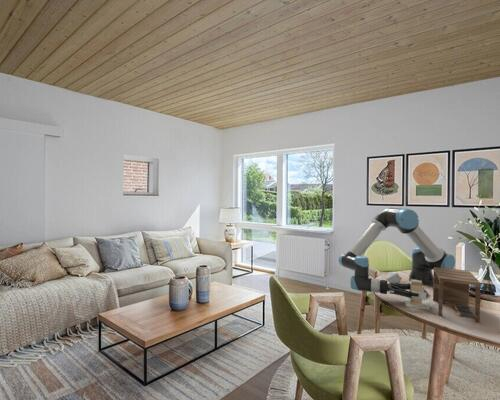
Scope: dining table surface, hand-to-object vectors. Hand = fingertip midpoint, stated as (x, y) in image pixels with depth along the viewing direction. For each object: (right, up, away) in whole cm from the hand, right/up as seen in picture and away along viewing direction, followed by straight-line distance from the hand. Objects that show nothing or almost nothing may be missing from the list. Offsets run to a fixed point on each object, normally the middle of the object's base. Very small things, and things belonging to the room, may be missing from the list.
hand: (425, 292), depth 157 cm
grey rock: (+2, -7, +38) cm, 39 cm away
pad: (-3, -7, +2) cm, 8 cm away
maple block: (-4, -7, +2) cm, 8 cm away
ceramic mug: (+8, -7, +20) cm, 22 cm away
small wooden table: (+12, -7, -6) cm, 15 cm away
